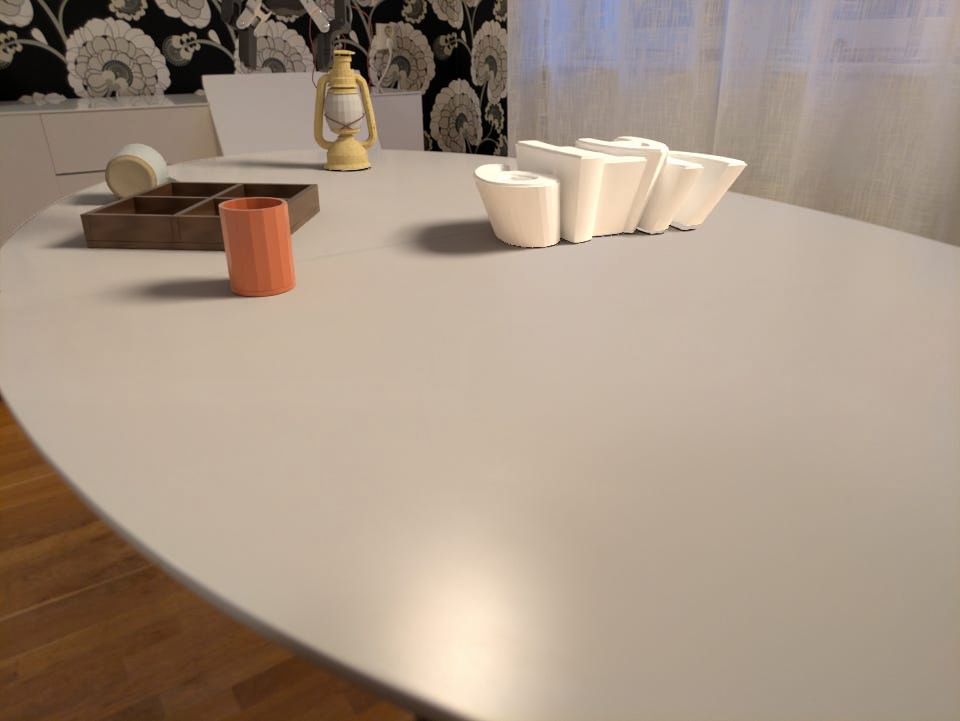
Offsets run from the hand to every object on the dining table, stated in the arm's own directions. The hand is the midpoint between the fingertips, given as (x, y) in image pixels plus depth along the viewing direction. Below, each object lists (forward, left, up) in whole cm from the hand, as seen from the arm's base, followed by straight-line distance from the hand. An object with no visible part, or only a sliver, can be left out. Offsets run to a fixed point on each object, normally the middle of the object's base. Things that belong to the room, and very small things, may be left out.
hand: (286, 69), depth 77 cm
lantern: (-6, +51, -19) cm, 55 cm away
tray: (-12, +1, -19) cm, 22 cm away
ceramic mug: (-29, +18, -19) cm, 39 cm away
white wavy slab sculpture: (+37, +4, -19) cm, 42 cm away
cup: (+2, -22, -19) cm, 29 cm away
